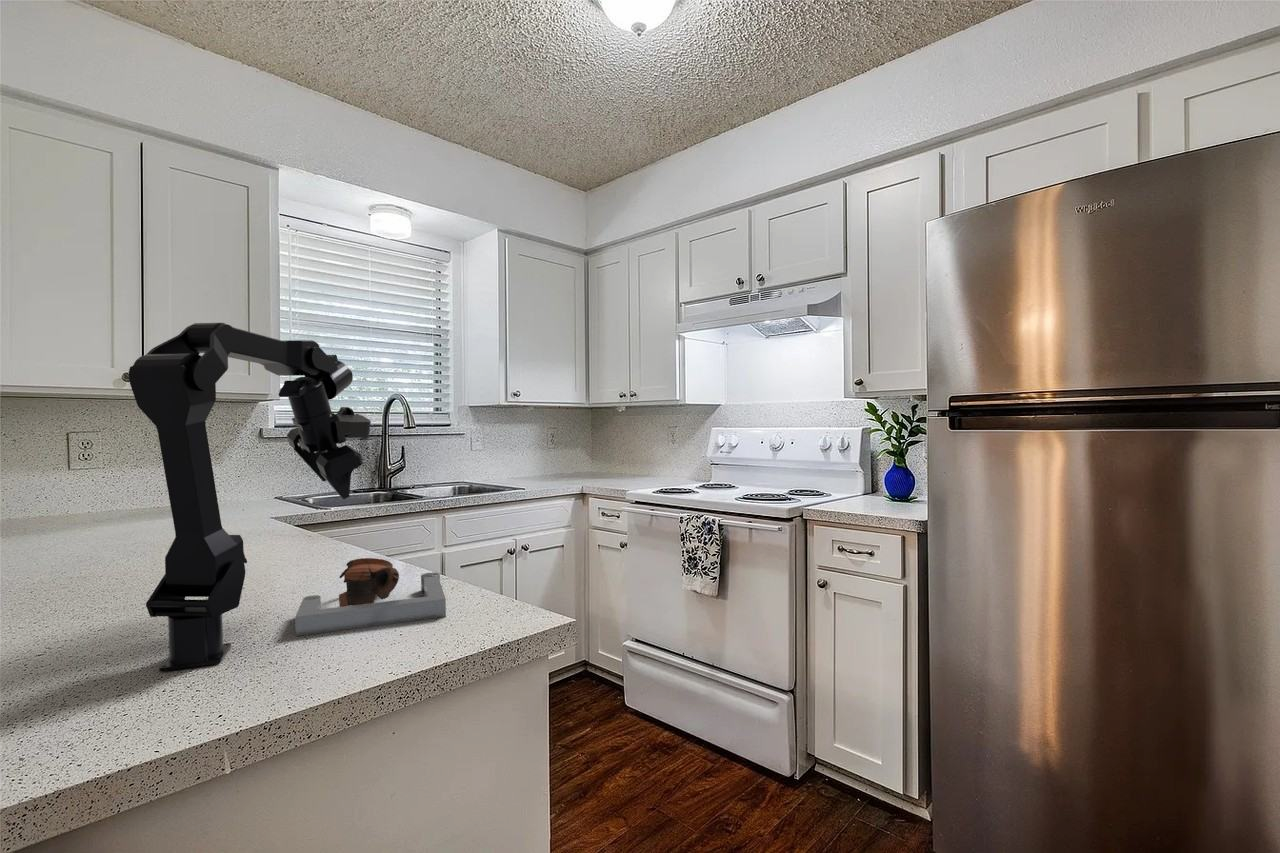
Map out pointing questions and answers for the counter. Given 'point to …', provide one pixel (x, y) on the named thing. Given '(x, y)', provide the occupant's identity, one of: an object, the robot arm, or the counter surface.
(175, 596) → the robot arm
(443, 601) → the hook
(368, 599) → the pottery mug
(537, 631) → the counter surface
